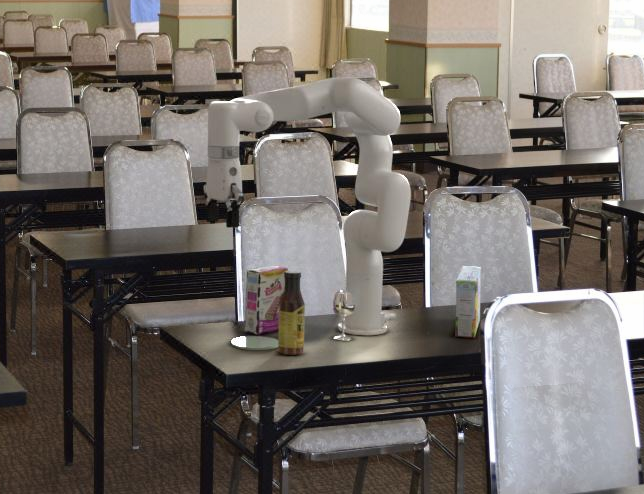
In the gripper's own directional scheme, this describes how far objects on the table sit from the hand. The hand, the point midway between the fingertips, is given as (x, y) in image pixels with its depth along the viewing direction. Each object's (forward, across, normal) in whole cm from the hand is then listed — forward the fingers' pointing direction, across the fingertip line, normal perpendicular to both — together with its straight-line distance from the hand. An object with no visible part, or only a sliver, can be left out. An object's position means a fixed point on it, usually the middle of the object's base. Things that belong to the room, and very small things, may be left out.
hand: (222, 224), depth 297 cm
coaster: (+31, +1, -11) cm, 33 cm away
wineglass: (+31, -3, -34) cm, 46 cm away
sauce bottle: (+31, -10, -14) cm, 35 cm away
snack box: (+31, -9, -70) cm, 77 cm away
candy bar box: (+31, +12, -20) cm, 39 cm away
